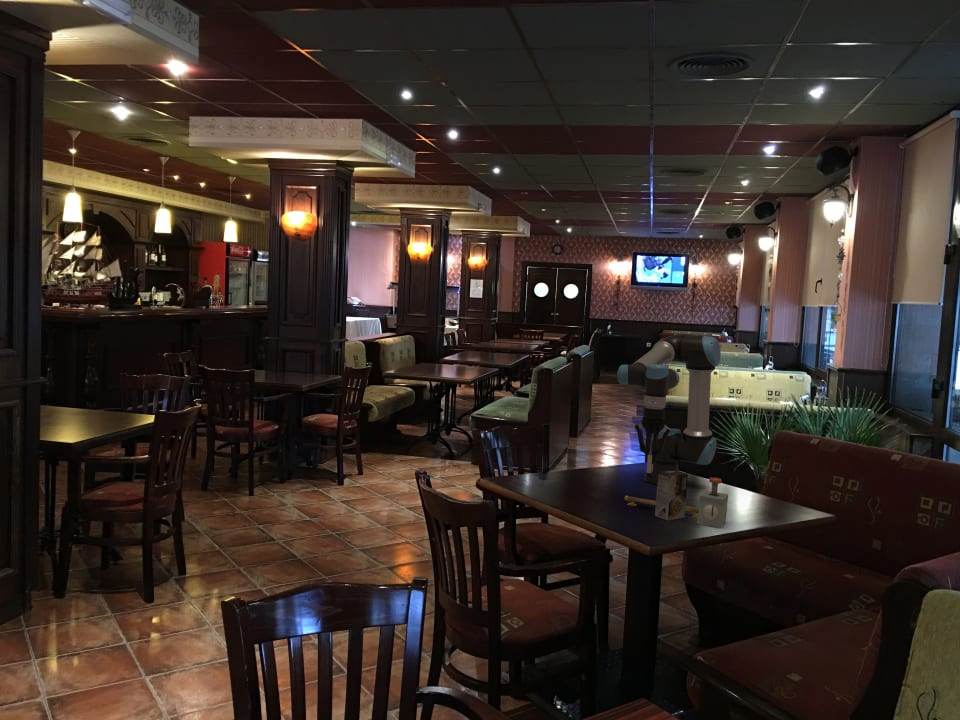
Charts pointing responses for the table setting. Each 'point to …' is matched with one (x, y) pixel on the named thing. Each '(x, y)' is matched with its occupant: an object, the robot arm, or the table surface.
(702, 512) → the cabinet
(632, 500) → the rail
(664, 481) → the coffee box
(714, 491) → the plunger
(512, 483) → the table surface
